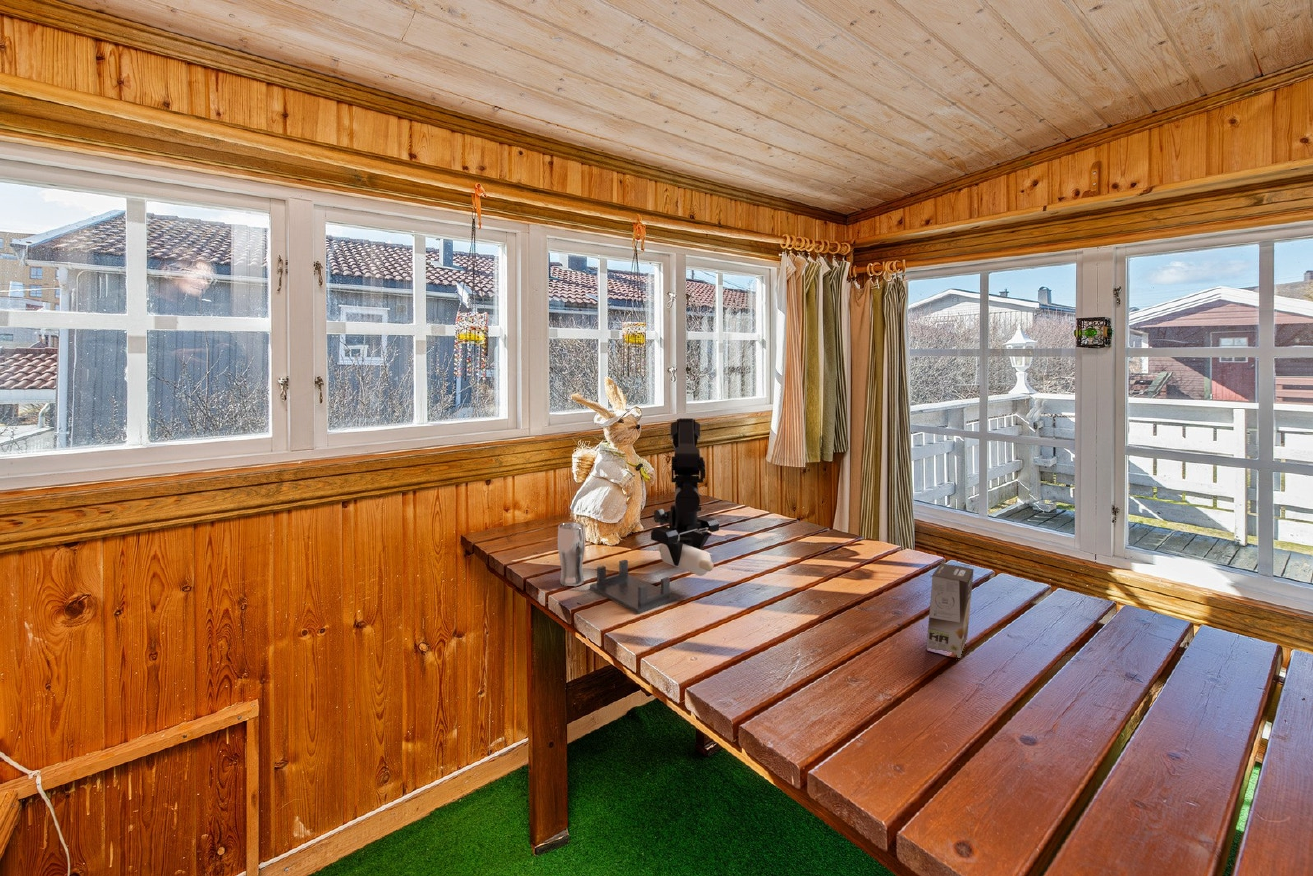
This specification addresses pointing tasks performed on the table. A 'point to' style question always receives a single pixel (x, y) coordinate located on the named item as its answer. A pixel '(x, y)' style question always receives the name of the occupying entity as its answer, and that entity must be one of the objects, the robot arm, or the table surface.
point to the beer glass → (571, 552)
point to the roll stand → (632, 590)
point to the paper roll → (689, 559)
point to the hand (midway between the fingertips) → (685, 562)
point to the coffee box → (950, 608)
